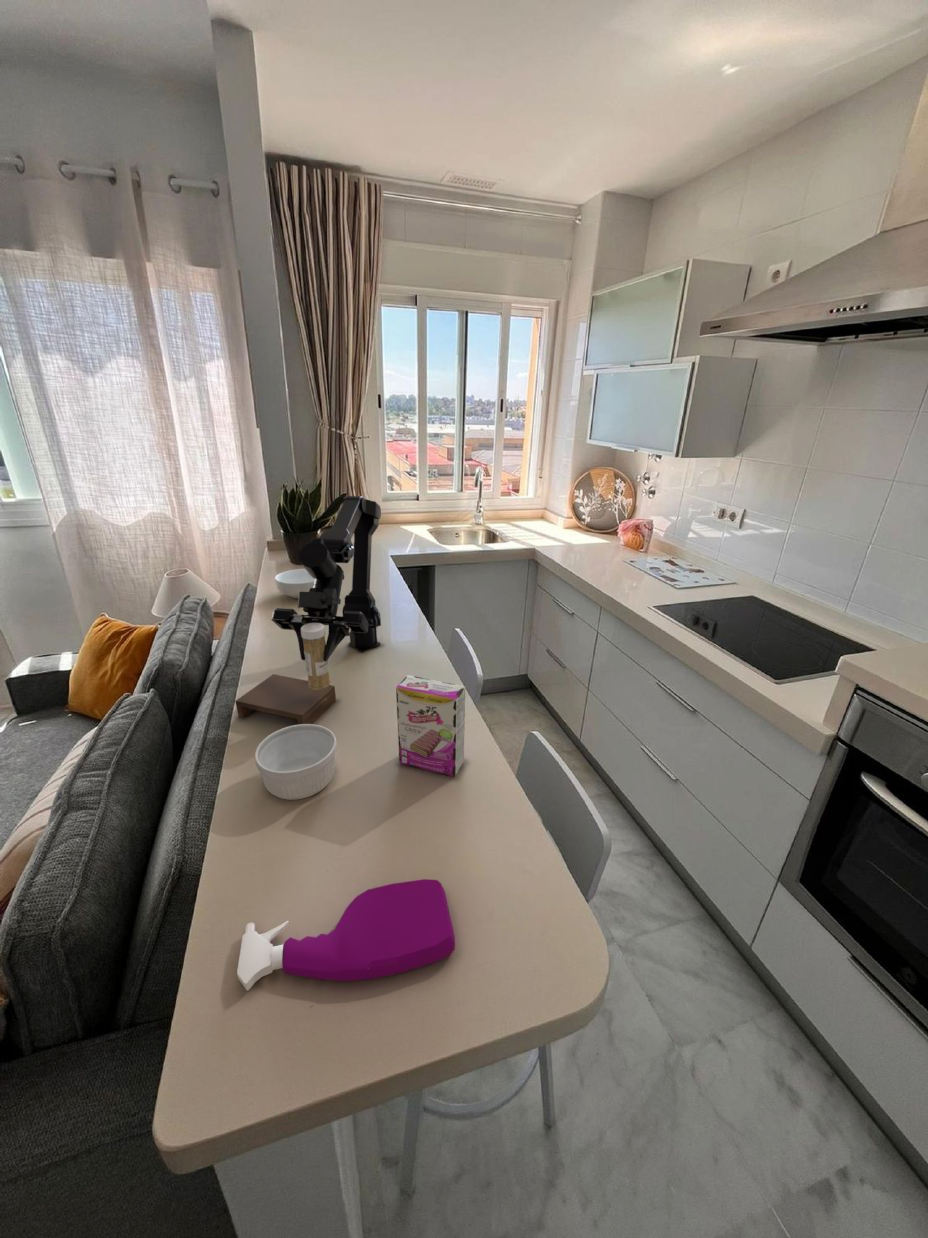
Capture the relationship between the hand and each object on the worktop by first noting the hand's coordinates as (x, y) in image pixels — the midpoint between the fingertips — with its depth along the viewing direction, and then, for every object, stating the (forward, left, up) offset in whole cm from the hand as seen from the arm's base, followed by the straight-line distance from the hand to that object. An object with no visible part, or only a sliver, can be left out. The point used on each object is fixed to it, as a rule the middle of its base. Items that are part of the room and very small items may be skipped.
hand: (313, 660), depth 99 cm
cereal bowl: (-35, -71, -13) cm, 80 cm away
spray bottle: (+23, +46, -13) cm, 52 cm away
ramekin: (+12, +15, -13) cm, 24 cm away
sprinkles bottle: (-1, -1, -7) cm, 7 cm away
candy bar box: (-7, +28, -13) cm, 32 cm away
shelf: (+3, -7, -13) cm, 15 cm away
